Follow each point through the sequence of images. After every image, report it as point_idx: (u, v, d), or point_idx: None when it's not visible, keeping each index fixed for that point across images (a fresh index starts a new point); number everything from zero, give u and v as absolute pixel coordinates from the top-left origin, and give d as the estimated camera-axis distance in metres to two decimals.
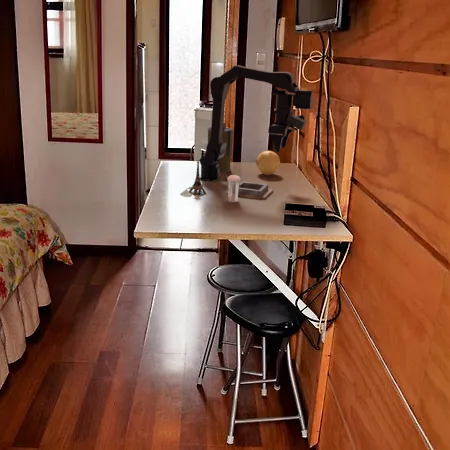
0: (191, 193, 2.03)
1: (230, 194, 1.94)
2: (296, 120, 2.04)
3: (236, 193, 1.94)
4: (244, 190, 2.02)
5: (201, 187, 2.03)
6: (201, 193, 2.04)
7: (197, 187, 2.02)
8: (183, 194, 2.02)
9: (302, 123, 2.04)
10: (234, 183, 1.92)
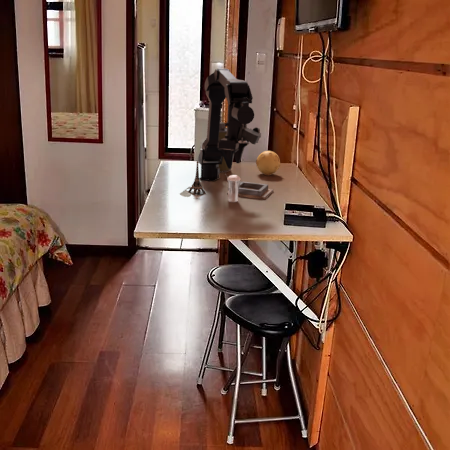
0: (190, 193, 2.03)
1: (230, 194, 1.94)
2: (249, 134, 1.85)
3: (236, 193, 1.94)
4: (244, 190, 2.02)
5: (200, 187, 2.03)
6: (200, 193, 2.04)
7: (196, 187, 2.02)
8: (182, 194, 2.02)
9: (255, 137, 1.85)
10: (234, 183, 1.92)
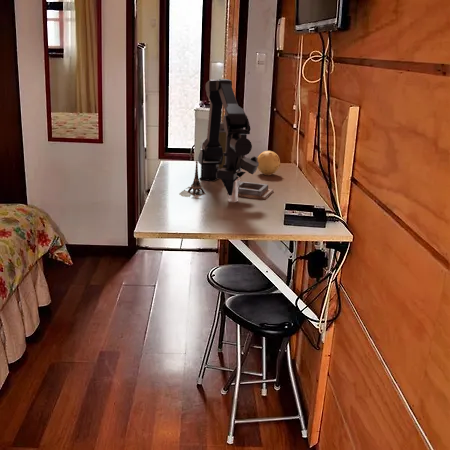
0: (190, 193, 2.03)
1: None
2: (247, 164, 1.88)
3: (236, 193, 1.94)
4: (244, 190, 2.02)
5: (200, 187, 2.03)
6: (200, 193, 2.04)
7: (196, 187, 2.02)
8: (182, 194, 2.02)
9: (253, 167, 1.88)
10: (234, 183, 1.92)
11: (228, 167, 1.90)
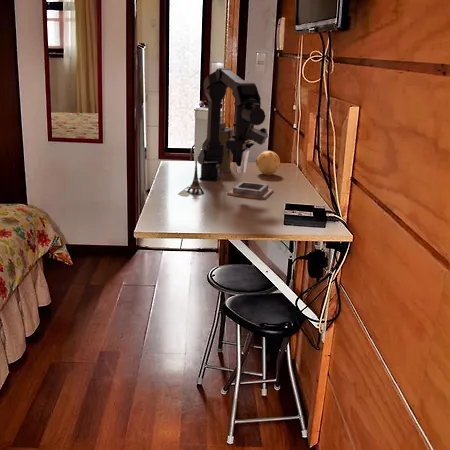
0: (189, 193, 2.04)
1: None
2: (256, 134, 1.89)
3: (245, 164, 1.95)
4: (244, 190, 2.02)
5: (199, 187, 2.03)
6: (199, 193, 2.04)
7: (195, 187, 2.02)
8: (181, 194, 2.02)
9: (262, 137, 1.89)
10: (243, 154, 1.94)
11: (237, 138, 1.92)
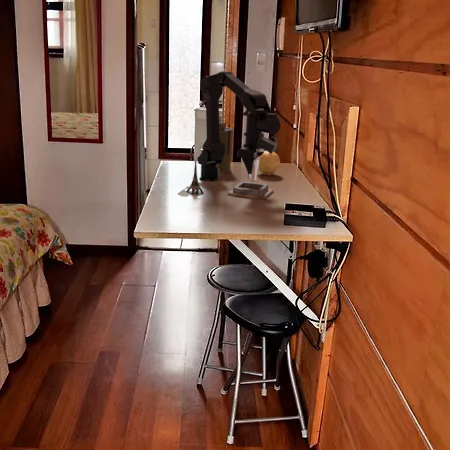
0: (189, 193, 2.04)
1: None
2: (266, 143, 1.97)
3: (255, 172, 2.03)
4: (244, 190, 2.02)
5: (199, 187, 2.03)
6: (199, 193, 2.04)
7: (195, 187, 2.02)
8: (181, 194, 2.02)
9: (272, 146, 1.97)
10: (254, 162, 2.01)
11: (248, 146, 1.99)
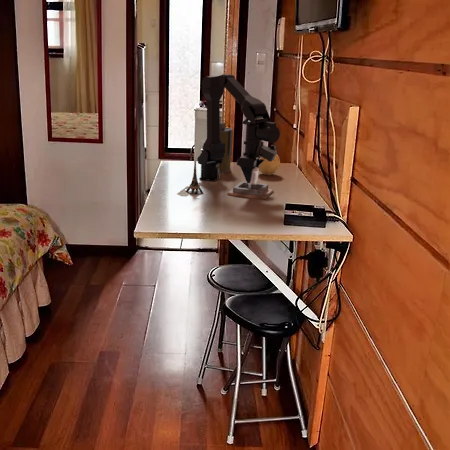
0: (188, 193, 2.04)
1: (249, 184, 2.04)
2: (266, 151, 1.98)
3: (255, 183, 2.04)
4: (244, 190, 2.02)
5: (198, 187, 2.03)
6: (198, 193, 2.04)
7: (194, 187, 2.02)
8: (180, 194, 2.02)
9: (272, 155, 1.98)
10: (253, 174, 2.02)
11: (248, 155, 2.00)
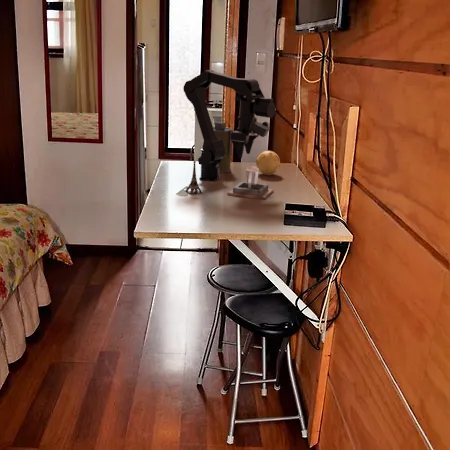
0: (187, 193, 2.04)
1: (249, 184, 2.04)
2: (258, 127, 2.05)
3: (255, 183, 2.04)
4: (244, 190, 2.02)
5: (197, 187, 2.03)
6: (197, 193, 2.04)
7: (193, 187, 2.02)
8: (179, 194, 2.02)
9: (264, 130, 2.04)
10: (253, 174, 2.02)
11: (241, 130, 2.07)
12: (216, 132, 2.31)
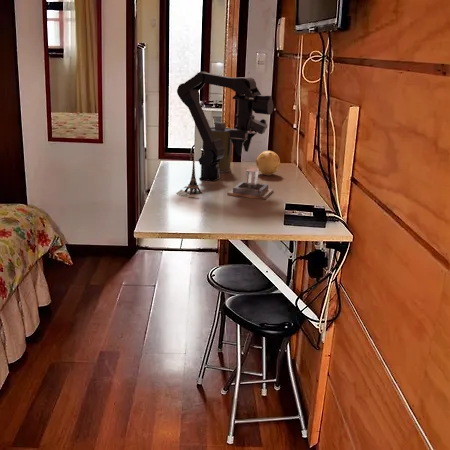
0: (187, 192, 2.04)
1: (249, 184, 2.04)
2: (256, 124, 2.08)
3: (255, 183, 2.04)
4: (244, 190, 2.02)
5: (197, 186, 2.03)
6: (197, 192, 2.04)
7: (193, 186, 2.02)
8: (179, 193, 2.02)
9: (262, 127, 2.07)
10: (253, 174, 2.02)
11: (239, 128, 2.10)
12: (216, 132, 2.31)
